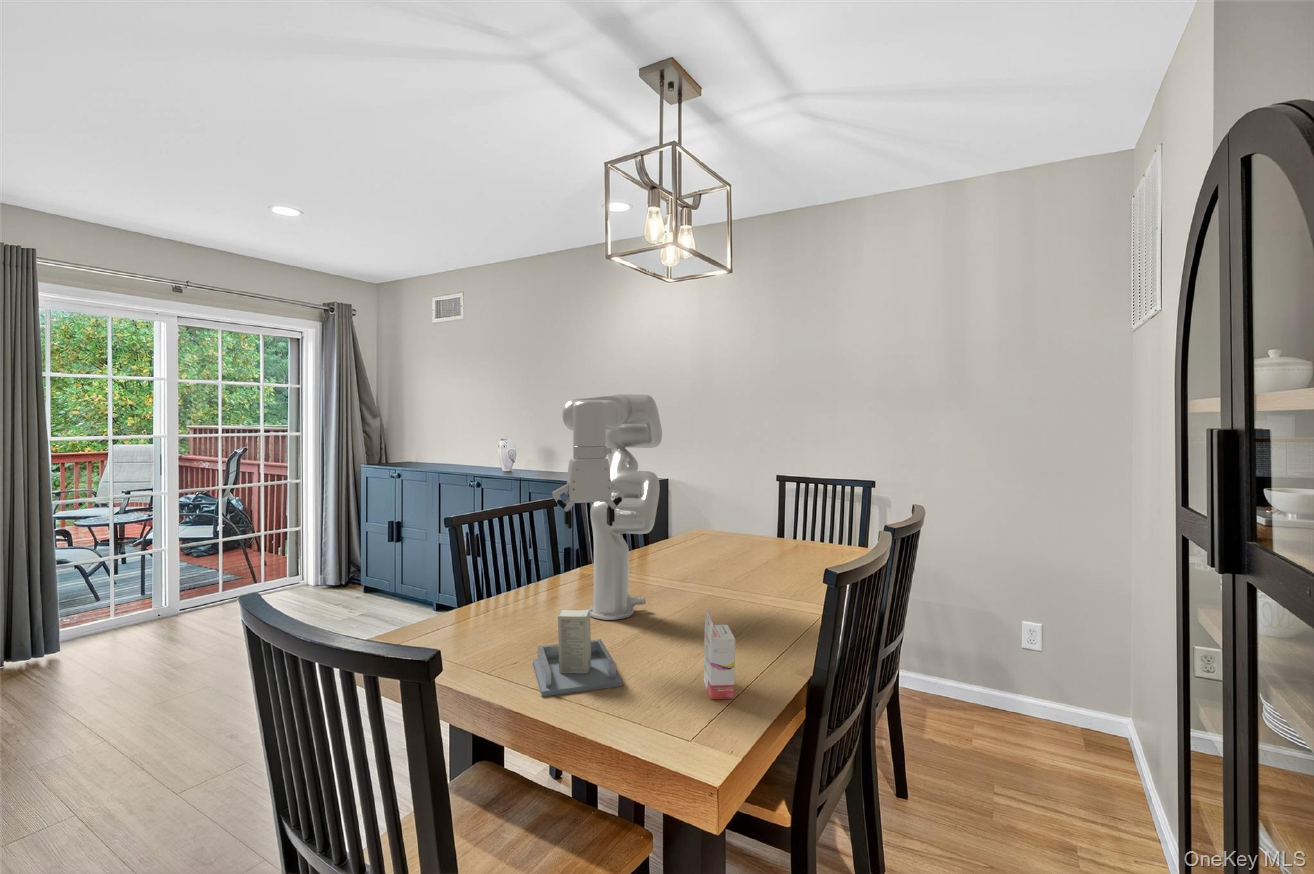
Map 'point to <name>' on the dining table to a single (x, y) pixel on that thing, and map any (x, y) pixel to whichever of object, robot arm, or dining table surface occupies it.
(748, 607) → the dining table surface
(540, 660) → the tray
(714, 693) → the ink cartridge box
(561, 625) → the skincare box
